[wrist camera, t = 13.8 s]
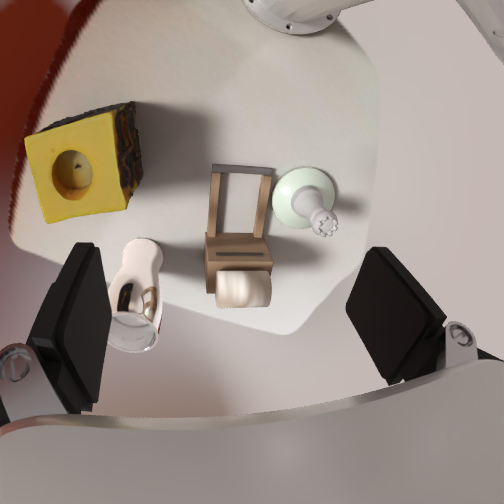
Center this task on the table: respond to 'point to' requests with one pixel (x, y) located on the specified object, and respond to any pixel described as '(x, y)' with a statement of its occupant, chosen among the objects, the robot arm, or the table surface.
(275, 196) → the pale green round disc
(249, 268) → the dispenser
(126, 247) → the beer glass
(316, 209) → the rook chess piece
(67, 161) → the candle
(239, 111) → the table surface
